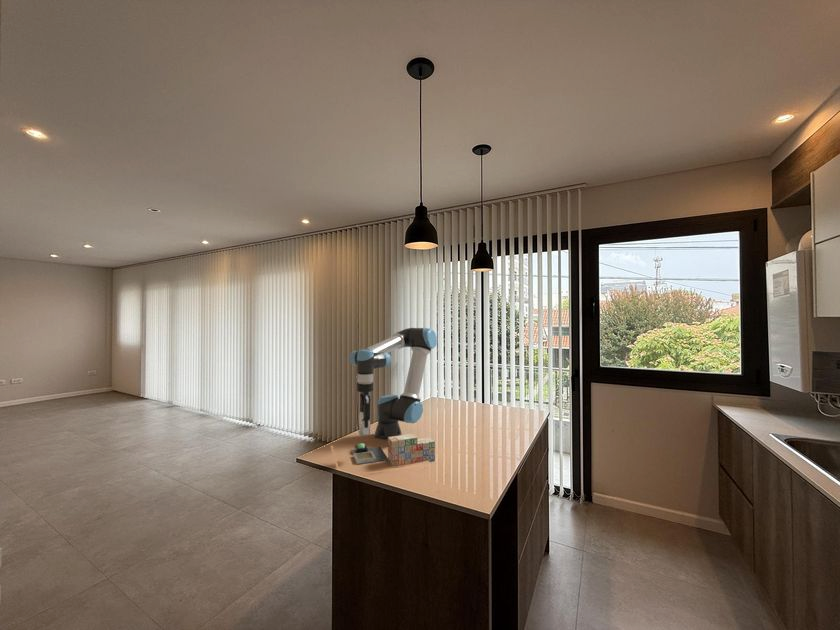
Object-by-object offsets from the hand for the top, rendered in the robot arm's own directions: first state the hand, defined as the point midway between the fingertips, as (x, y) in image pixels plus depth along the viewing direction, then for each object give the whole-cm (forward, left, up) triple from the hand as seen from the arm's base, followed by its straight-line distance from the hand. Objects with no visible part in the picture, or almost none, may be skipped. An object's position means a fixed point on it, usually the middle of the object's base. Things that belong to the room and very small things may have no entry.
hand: (364, 432), depth 159 cm
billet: (0, 0, -1) cm, 1 cm away
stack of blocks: (-21, +8, -14) cm, 26 cm away
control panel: (-3, -4, -14) cm, 14 cm away
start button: (0, -10, -12) cm, 15 cm away
